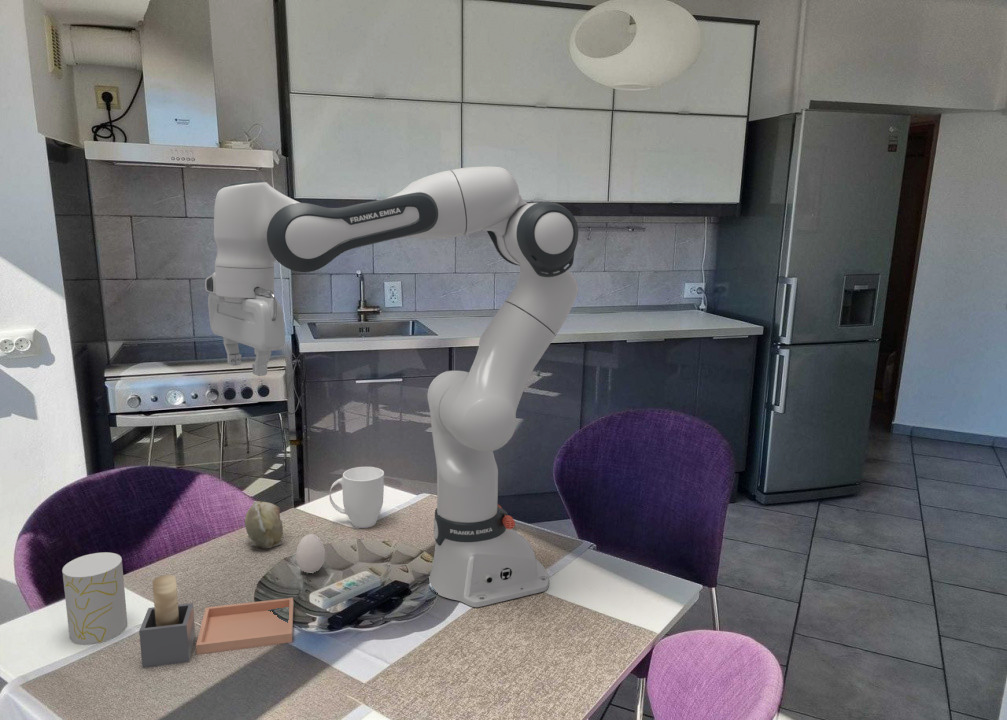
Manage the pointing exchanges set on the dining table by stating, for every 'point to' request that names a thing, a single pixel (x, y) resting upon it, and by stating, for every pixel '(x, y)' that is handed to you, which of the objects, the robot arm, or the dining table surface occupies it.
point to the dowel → (165, 600)
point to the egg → (310, 553)
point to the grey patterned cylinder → (95, 598)
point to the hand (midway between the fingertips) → (246, 369)
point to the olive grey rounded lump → (264, 525)
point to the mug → (361, 495)
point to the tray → (244, 626)
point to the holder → (167, 638)
